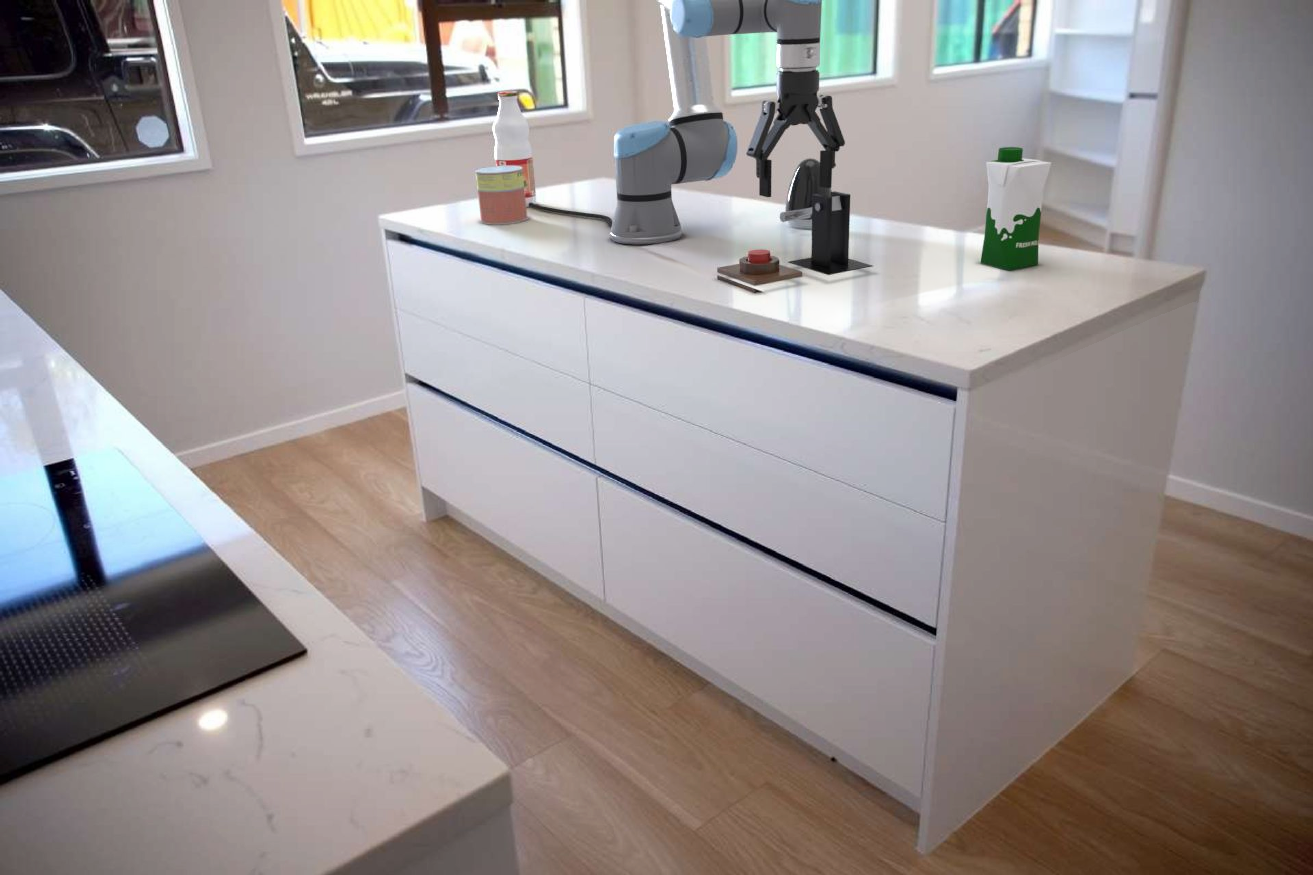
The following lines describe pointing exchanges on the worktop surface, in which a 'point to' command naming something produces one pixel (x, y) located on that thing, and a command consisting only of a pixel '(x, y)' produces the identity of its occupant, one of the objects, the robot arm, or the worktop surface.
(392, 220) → the worktop surface
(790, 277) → the button box
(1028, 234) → the milk carton
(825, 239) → the black lever stand
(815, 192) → the pump dispenser
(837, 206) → the tap lever
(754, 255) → the button
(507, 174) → the canned food
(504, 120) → the fruit juice
